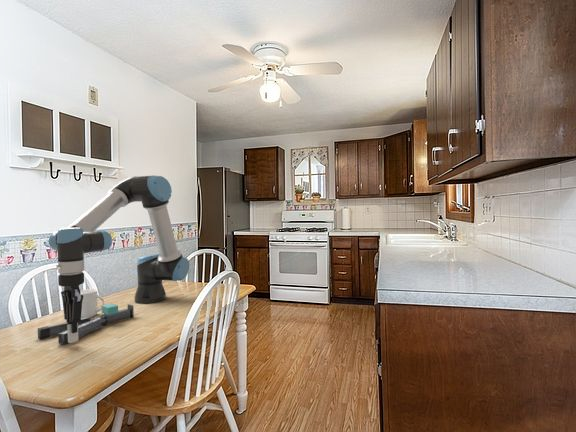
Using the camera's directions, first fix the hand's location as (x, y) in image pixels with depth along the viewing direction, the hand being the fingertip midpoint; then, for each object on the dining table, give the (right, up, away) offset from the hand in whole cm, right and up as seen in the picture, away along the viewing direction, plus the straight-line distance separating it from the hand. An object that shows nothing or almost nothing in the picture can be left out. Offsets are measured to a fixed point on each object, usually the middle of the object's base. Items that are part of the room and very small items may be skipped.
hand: (73, 341), depth 117 cm
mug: (-14, -1, +34) cm, 37 cm away
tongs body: (-5, -1, +19) cm, 19 cm away
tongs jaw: (-3, -1, +9) cm, 10 cm away
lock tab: (0, +3, +24) cm, 24 cm away
